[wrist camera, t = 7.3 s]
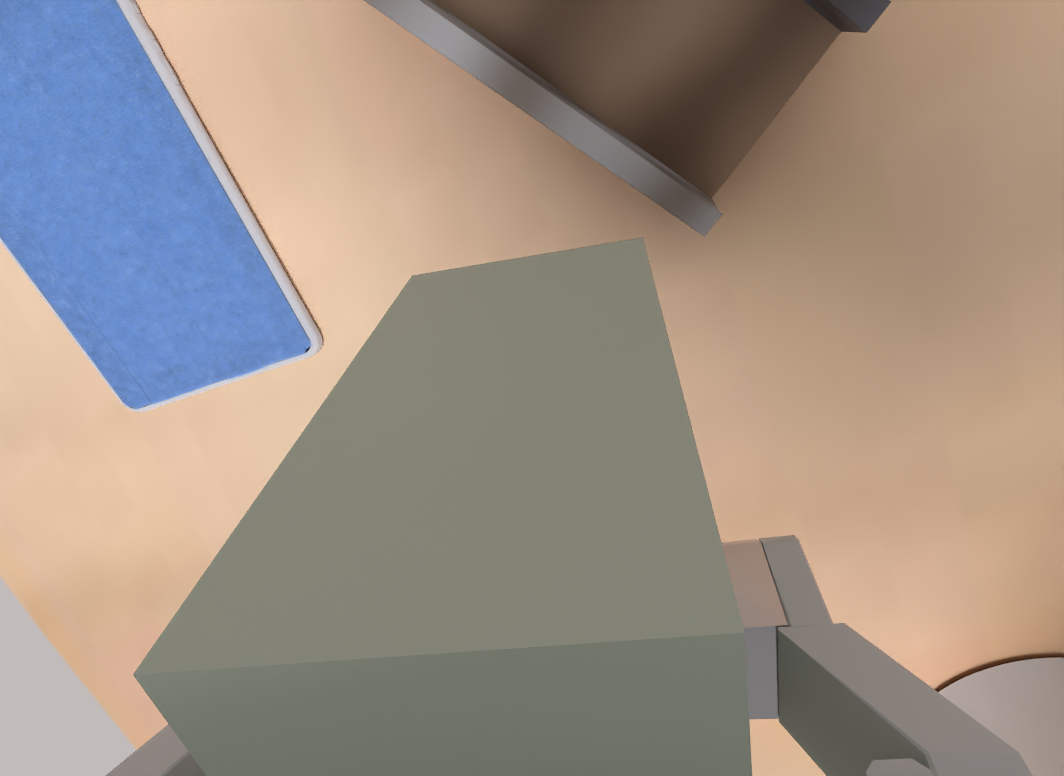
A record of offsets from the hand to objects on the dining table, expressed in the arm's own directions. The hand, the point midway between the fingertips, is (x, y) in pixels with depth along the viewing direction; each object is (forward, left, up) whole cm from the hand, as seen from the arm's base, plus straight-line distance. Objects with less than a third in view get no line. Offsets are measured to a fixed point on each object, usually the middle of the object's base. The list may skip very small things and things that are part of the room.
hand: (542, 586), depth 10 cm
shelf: (+4, -8, -21) cm, 23 cm away
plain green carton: (0, 0, -5) cm, 5 cm away
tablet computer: (+18, +11, -22) cm, 31 cm away
